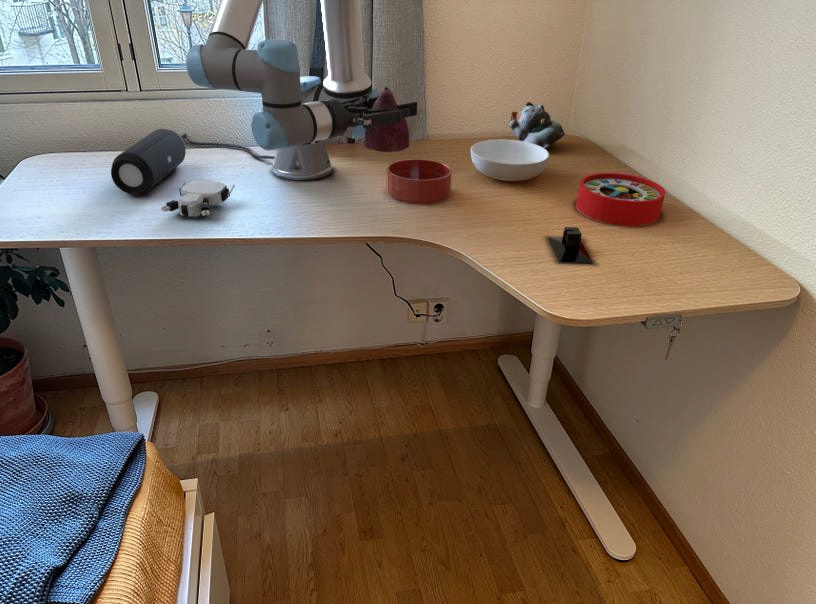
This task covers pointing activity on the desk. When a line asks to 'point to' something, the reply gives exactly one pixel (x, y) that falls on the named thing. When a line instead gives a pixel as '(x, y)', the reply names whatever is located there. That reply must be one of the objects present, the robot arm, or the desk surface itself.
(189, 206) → the robot toy
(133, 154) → the portable speaker
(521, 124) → the lucky cat figurine
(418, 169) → the red round tray
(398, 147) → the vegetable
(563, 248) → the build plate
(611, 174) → the toy clock
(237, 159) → the desk surface
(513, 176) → the serving bowl
